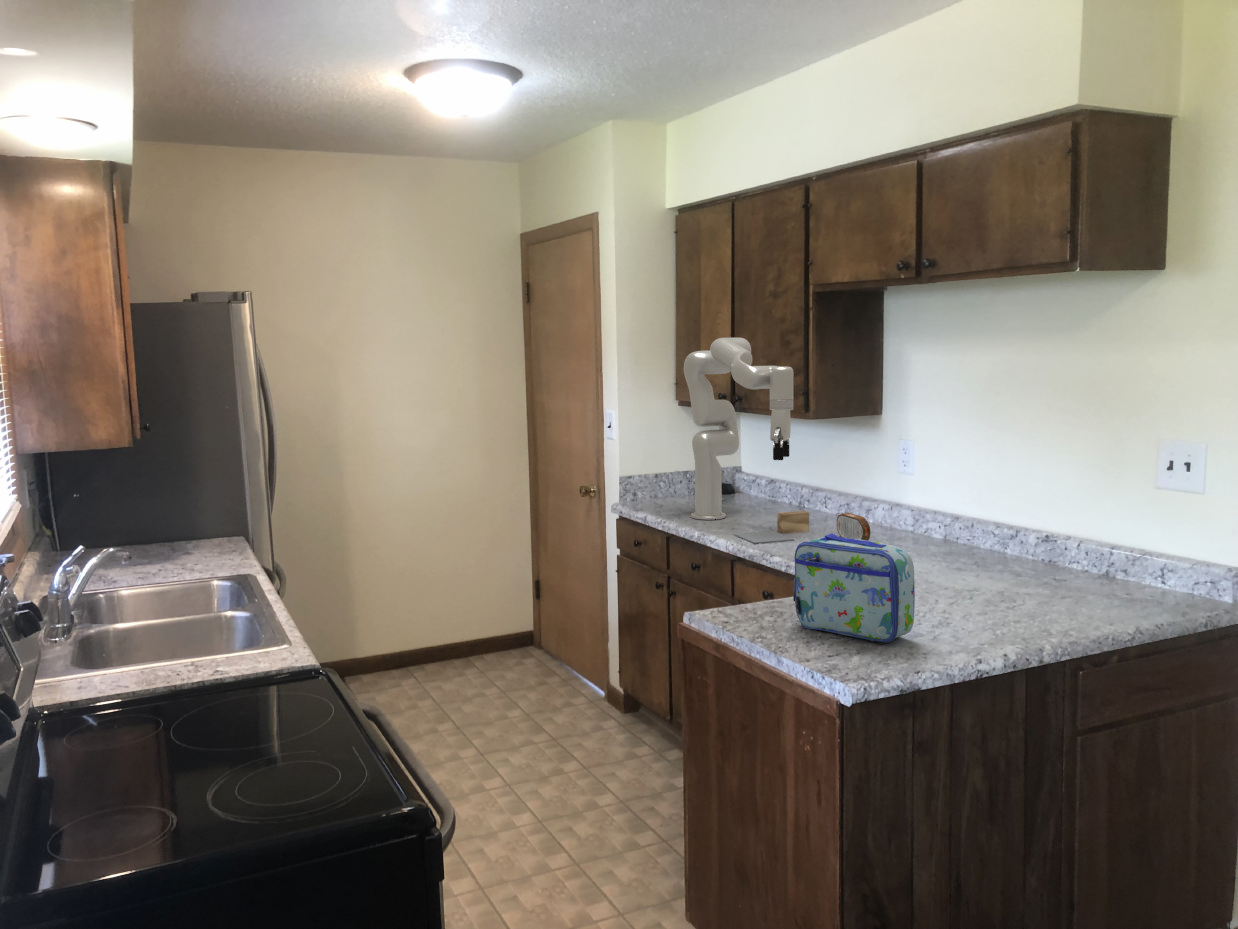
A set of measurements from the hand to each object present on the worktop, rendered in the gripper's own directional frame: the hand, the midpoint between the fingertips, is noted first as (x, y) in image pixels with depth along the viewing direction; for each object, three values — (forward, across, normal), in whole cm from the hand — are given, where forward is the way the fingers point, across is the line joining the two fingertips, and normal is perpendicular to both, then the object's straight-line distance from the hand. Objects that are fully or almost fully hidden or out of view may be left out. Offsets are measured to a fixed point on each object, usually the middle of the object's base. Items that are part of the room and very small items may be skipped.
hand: (781, 458), depth 309 cm
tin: (+26, 0, +23) cm, 35 cm away
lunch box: (+27, +98, +35) cm, 107 cm away
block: (+26, -9, +2) cm, 27 cm away
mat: (+26, +4, -5) cm, 26 cm away
